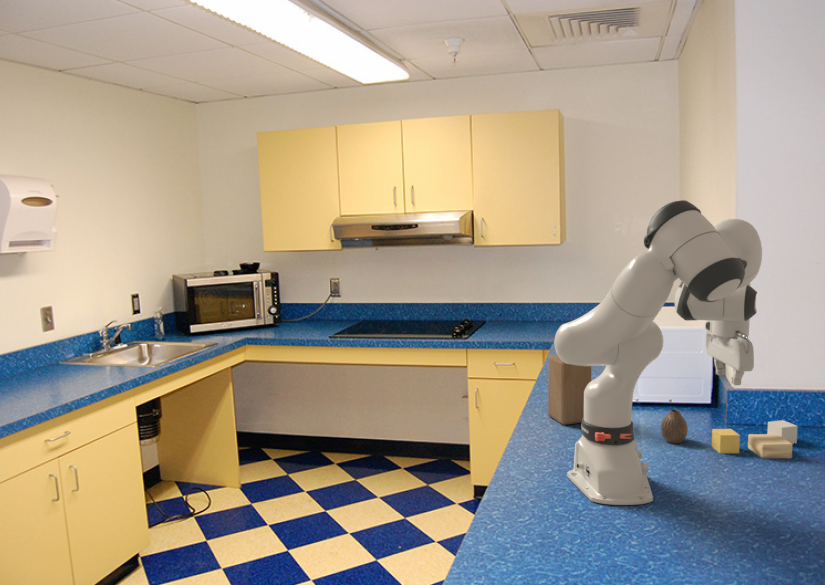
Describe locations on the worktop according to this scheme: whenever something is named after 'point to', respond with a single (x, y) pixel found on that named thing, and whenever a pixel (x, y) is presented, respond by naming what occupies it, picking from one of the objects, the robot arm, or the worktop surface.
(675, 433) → the vase
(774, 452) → the maple base
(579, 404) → the block
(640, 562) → the worktop surface
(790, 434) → the grey cube
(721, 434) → the ochre cube
